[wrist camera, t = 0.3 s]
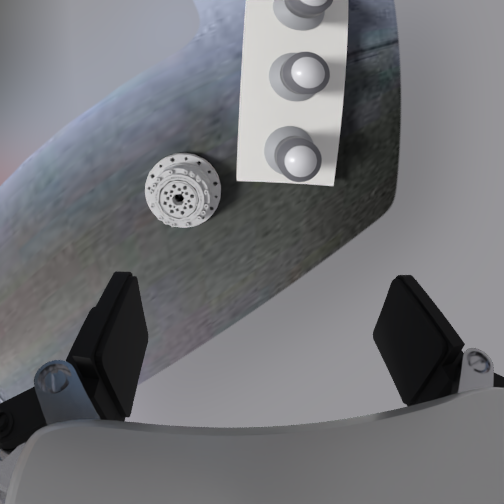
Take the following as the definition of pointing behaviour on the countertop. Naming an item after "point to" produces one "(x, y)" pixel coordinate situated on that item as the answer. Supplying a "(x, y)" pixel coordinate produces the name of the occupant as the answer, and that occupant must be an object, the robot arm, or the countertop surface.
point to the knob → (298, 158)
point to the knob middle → (305, 73)
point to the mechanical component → (183, 190)
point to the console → (279, 97)
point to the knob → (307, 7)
